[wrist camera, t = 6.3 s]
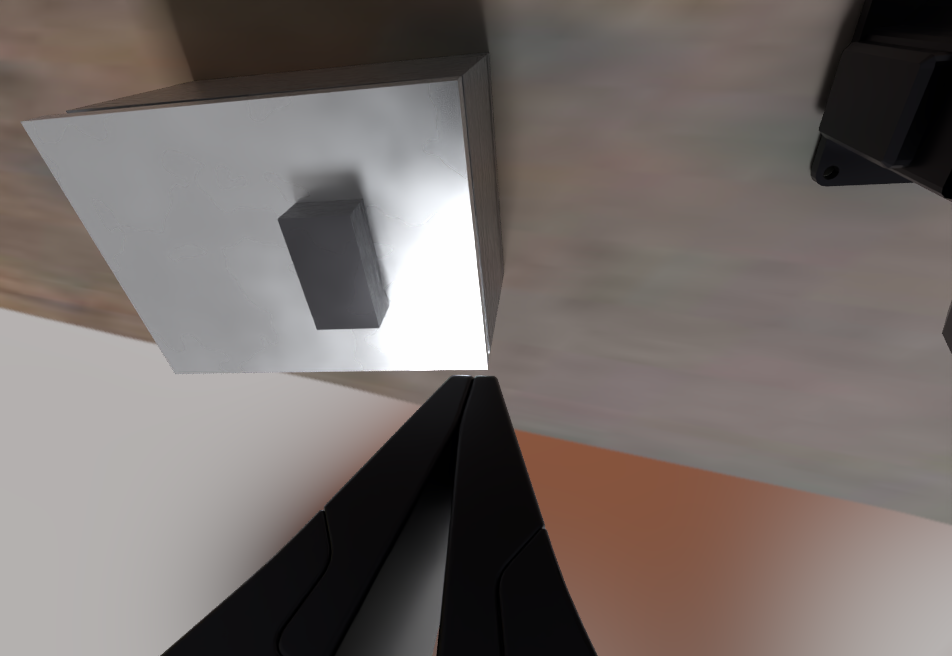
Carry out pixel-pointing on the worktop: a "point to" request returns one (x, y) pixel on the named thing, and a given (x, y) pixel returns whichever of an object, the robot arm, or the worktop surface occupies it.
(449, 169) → the grey flat panel
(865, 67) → the robot arm
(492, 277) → the open storage bin
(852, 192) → the worktop surface
